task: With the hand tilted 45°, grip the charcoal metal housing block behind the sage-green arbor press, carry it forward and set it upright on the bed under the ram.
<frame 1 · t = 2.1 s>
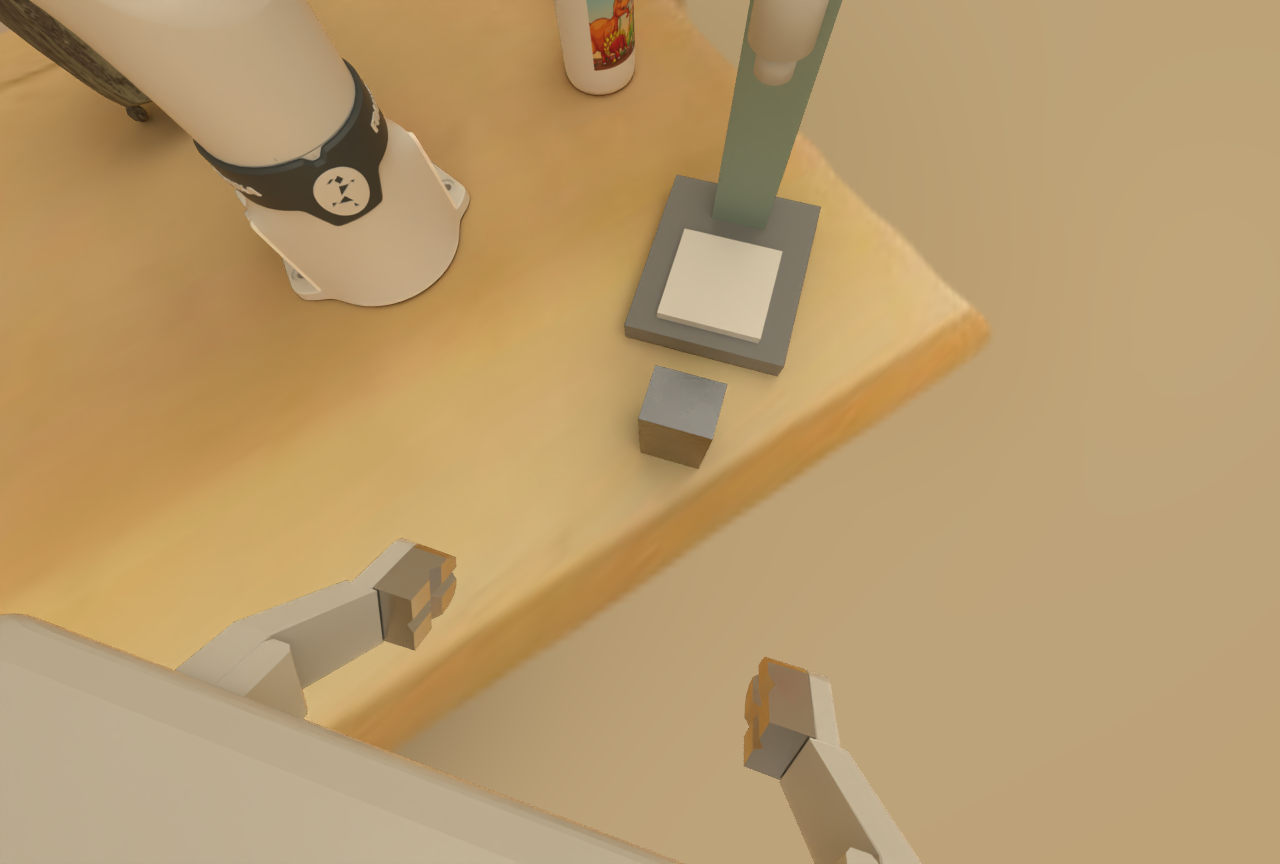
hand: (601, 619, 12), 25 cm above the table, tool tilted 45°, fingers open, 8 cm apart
housing: (675, 438, 39), on the table
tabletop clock: (202, 103, 52), on the table
milk bottle: (600, 73, 52), on the table
press: (716, 299, 43), on the table
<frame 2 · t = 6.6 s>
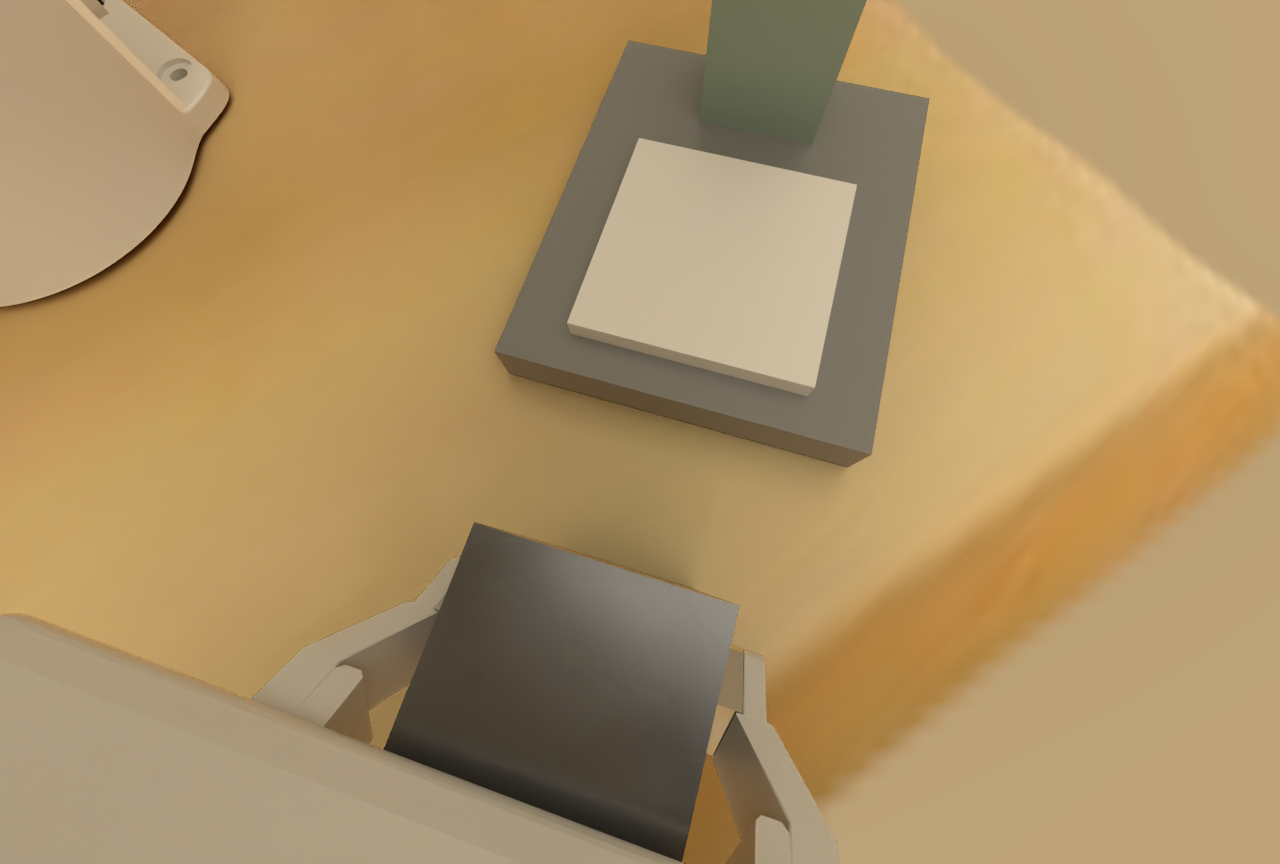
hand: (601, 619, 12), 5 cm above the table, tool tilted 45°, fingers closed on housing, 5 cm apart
housing: (609, 624, 16), on the table, touching gripper
press: (709, 293, 20), on the table
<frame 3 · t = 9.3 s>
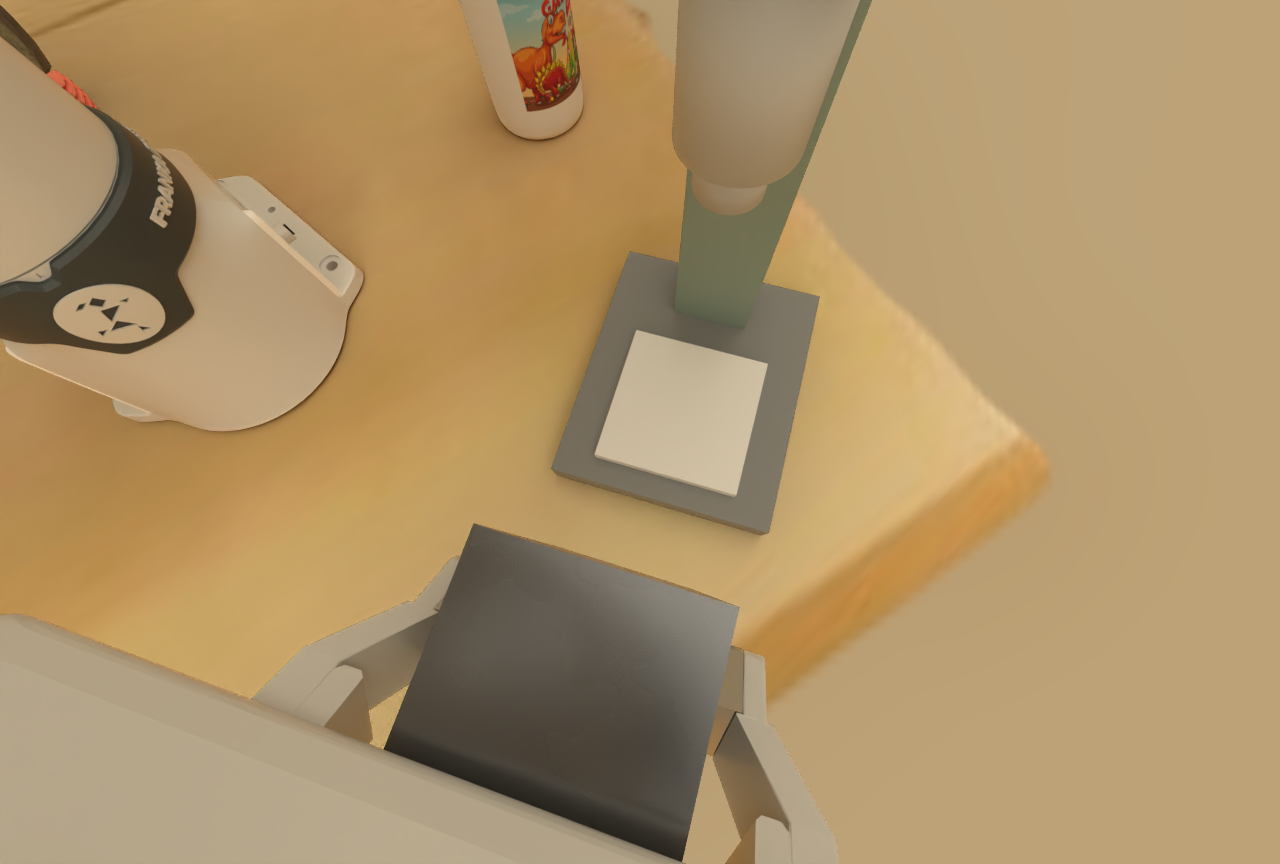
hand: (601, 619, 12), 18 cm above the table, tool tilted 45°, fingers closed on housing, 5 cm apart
housing: (609, 625, 16), point 13 cm above the table, touching gripper
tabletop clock: (39, 150, 41), on the table
milk bottle: (541, 111, 41), on the table
press: (680, 421, 32), on the table
when the fingers open (9 cm above the table, at t = 12.3 s): housing drops 2 cm, resting on press.
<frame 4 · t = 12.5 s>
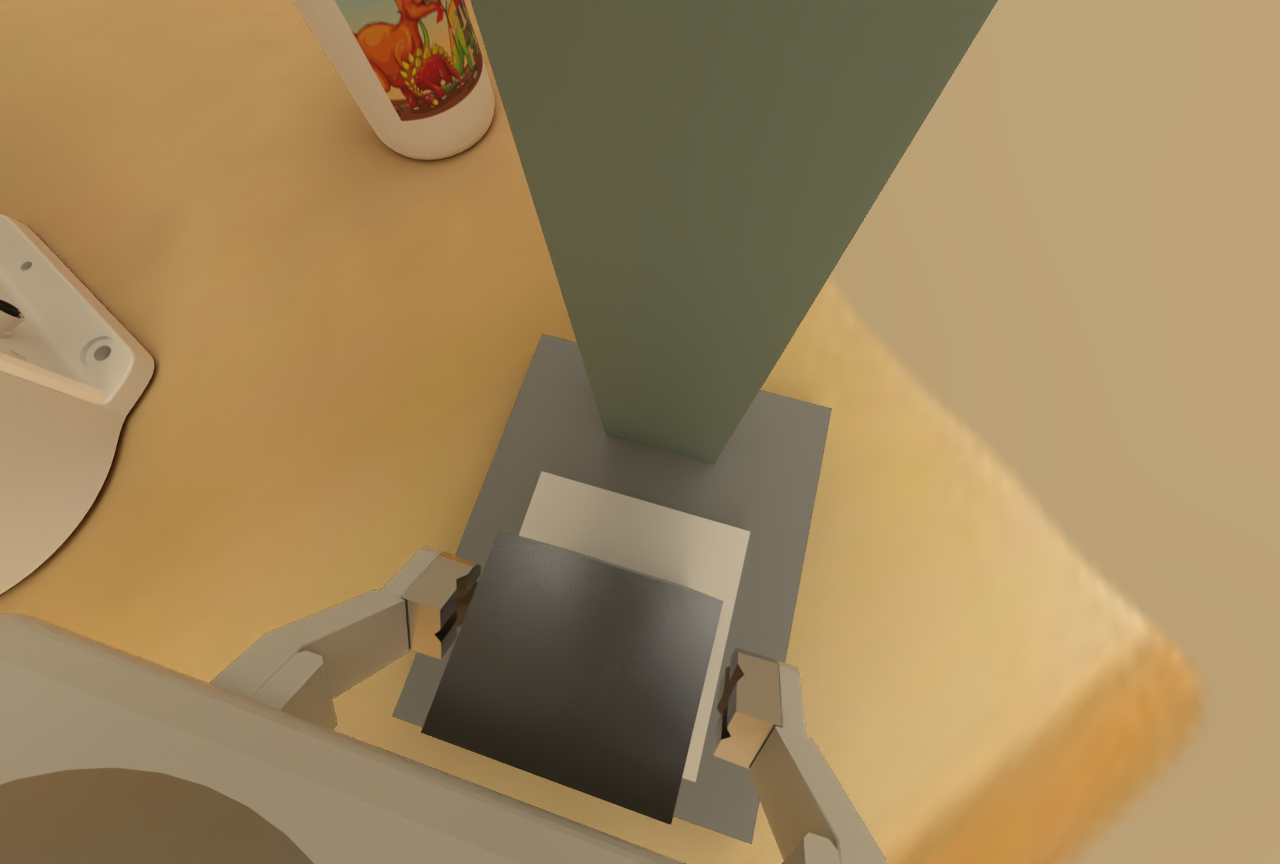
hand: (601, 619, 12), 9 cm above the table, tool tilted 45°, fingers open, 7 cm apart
housing: (611, 619, 18), point 3 cm above the table, touching press
milk bottle: (438, 119, 29), on the table
press: (616, 607, 21), on the table
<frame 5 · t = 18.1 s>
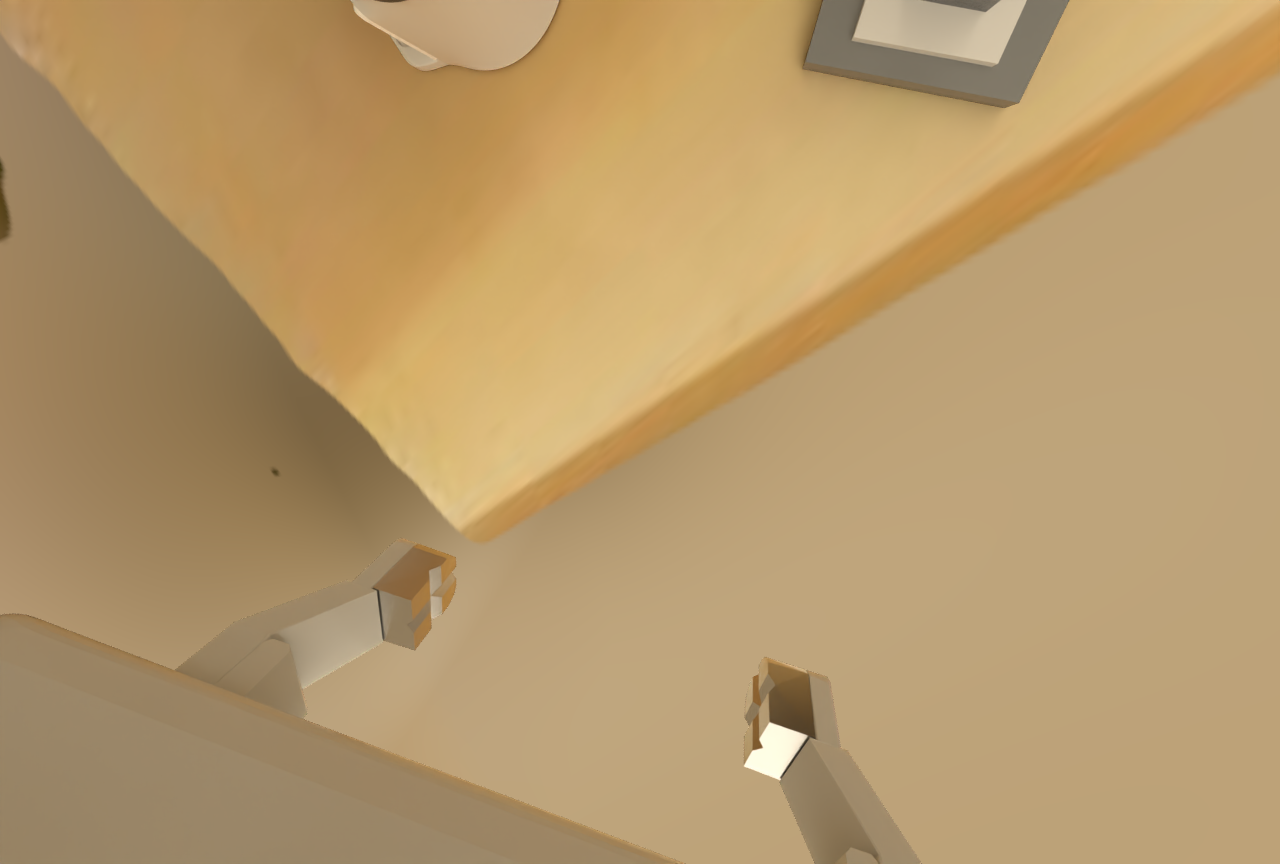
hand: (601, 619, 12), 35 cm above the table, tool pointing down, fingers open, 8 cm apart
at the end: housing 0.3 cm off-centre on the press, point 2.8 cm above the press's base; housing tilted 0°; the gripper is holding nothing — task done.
